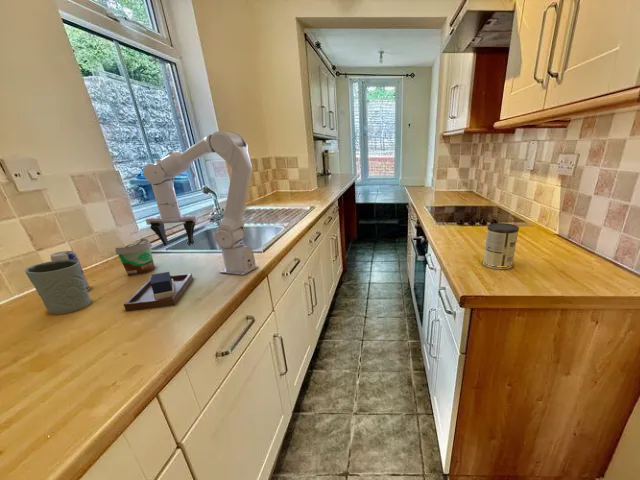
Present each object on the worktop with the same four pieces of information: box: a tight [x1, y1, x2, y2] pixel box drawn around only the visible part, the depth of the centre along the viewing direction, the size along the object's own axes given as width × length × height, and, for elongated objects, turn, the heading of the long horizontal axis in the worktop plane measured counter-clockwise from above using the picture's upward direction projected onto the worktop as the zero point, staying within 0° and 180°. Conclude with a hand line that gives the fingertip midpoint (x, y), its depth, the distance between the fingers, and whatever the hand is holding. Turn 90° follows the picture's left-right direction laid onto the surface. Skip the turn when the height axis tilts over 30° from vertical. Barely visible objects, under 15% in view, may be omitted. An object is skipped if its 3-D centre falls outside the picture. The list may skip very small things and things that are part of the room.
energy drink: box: [50, 250, 91, 292], centre depth 93 cm, size 5×5×12 cm
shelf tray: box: [123, 272, 194, 312], centre depth 94 cm, size 12×20×2 cm, turn 16°
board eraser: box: [150, 271, 175, 300], centre depth 93 cm, size 11×5×5 cm, turn 32°
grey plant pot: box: [24, 260, 92, 315], centre depth 84 cm, size 10×10×12 cm
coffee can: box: [482, 222, 520, 270], centre depth 112 cm, size 10×10×14 cm
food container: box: [115, 237, 156, 276], centre depth 110 cm, size 12×6×10 cm, turn 179°
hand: (179, 243), depth 108 cm, fingers open, 7 cm apart
